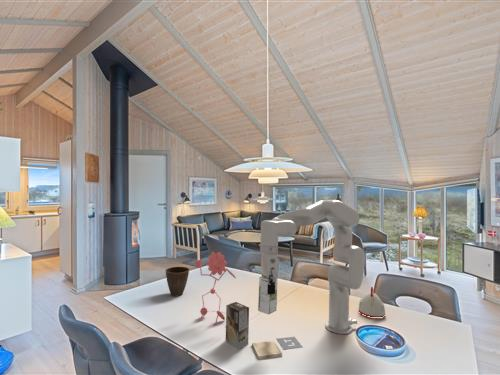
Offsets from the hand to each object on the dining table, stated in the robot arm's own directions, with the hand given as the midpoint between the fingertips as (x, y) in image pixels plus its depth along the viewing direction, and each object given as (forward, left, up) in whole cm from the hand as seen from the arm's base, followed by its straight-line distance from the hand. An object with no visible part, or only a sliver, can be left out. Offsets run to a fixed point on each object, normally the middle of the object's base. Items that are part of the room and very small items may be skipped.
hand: (268, 290), depth 118 cm
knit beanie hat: (-71, -24, -26) cm, 79 cm away
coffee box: (+11, -9, -26) cm, 29 cm away
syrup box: (0, 0, -9) cm, 9 cm away
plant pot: (+37, -75, -25) cm, 87 cm away
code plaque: (-12, -4, -25) cm, 28 cm away
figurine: (+17, -36, -25) cm, 47 cm away
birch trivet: (0, 0, -25) cm, 25 cm away
